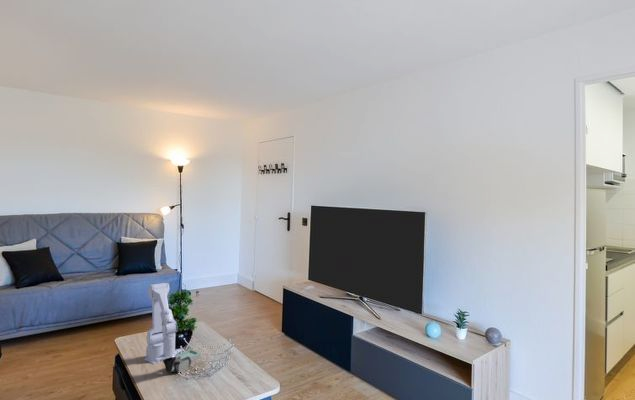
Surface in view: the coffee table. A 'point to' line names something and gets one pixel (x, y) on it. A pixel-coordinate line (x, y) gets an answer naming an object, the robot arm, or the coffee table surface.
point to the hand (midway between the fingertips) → (168, 371)
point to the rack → (189, 354)
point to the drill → (175, 364)
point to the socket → (182, 364)
